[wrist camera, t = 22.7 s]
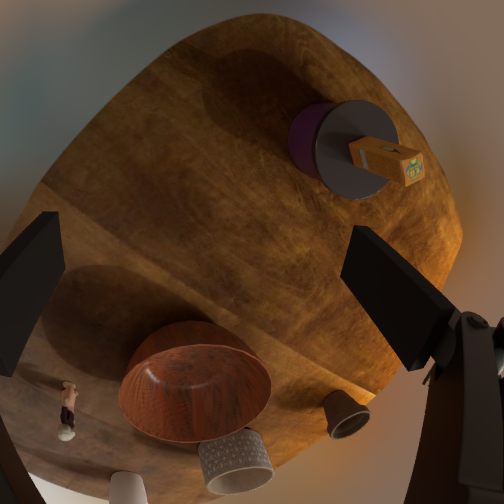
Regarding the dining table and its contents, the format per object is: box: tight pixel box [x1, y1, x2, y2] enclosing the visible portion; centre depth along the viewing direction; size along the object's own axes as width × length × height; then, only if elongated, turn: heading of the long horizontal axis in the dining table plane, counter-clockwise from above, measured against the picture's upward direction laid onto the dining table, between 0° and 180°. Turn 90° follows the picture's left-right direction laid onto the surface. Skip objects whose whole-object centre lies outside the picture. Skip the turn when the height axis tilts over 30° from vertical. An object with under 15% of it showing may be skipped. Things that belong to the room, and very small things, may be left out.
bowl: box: [119, 320, 273, 443], centre depth 51 cm, size 25×25×11 cm
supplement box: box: [349, 136, 425, 186], centre depth 33 cm, size 3×3×10 cm
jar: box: [288, 100, 399, 200], centre depth 42 cm, size 13×13×10 cm
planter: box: [198, 429, 275, 495], centre depth 67 cm, size 16×16×13 cm
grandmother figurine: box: [58, 381, 78, 441], centre depth 48 cm, size 8×4×13 cm, turn 1°
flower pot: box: [323, 391, 371, 440], centre depth 71 cm, size 12×11×10 cm
